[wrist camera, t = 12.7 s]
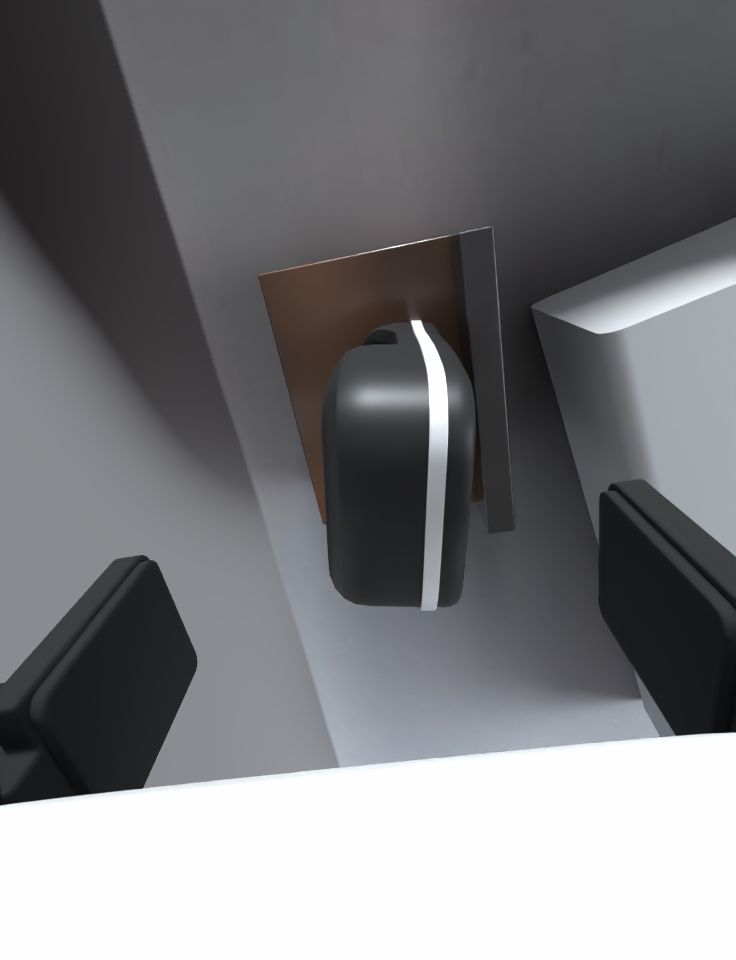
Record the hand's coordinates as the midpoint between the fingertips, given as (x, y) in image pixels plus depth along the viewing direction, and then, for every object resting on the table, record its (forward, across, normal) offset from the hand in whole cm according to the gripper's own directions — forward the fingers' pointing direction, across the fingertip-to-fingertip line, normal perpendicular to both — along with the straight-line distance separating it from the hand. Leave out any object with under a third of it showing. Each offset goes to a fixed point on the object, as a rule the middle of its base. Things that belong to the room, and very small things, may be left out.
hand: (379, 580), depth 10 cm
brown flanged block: (+18, -1, 0) cm, 18 cm away
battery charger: (+13, 0, 0) cm, 13 cm away
